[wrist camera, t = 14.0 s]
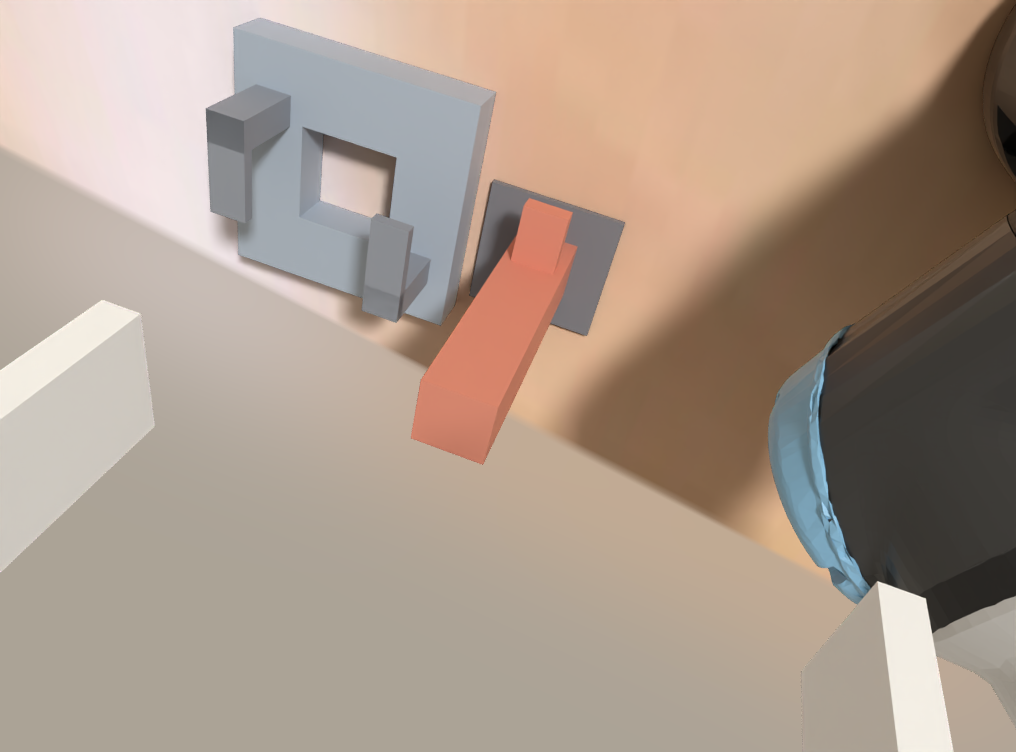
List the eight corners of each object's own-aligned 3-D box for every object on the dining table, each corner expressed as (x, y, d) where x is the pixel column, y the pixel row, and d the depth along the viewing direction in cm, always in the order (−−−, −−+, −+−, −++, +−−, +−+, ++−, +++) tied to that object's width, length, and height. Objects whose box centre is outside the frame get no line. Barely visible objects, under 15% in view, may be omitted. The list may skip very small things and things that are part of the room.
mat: (625, 222, 49) (624, 224, 49) (587, 333, 55) (586, 335, 54) (494, 179, 50) (492, 181, 50) (471, 292, 55) (469, 295, 55)
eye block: (496, 91, 47) (449, 134, 40) (455, 305, 56) (412, 366, 50) (260, 17, 48) (178, 47, 42) (260, 237, 58) (194, 288, 52)
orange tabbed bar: (534, 175, 48) (431, 316, 34) (593, 194, 48) (514, 345, 34) (498, 321, 56) (402, 487, 42) (550, 339, 55) (470, 512, 41)
